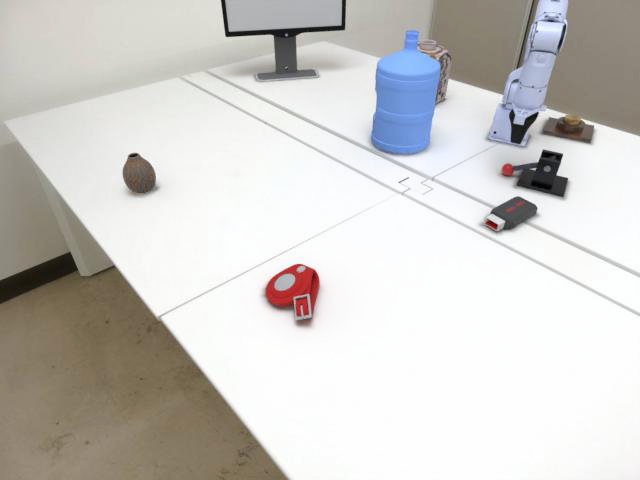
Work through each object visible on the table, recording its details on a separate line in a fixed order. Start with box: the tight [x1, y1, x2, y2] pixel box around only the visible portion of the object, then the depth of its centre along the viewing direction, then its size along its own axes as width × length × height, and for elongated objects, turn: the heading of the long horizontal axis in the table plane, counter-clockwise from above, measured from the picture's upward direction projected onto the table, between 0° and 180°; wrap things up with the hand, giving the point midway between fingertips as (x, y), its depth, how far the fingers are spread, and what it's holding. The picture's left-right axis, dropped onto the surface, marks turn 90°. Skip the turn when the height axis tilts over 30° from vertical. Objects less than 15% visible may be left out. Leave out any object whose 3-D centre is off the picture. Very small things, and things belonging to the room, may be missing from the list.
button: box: [563, 113, 582, 125], centre depth 126 cm, size 4×4×2 cm
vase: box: [122, 152, 157, 195], centre depth 103 cm, size 7×7×9 cm
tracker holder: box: [265, 263, 320, 321], centre depth 77 cm, size 12×4×10 cm
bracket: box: [516, 149, 569, 198], centre depth 104 cm, size 10×8×7 cm
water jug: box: [370, 29, 441, 155], centre depth 115 cm, size 16×16×28 cm
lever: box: [501, 155, 556, 176], centre depth 106 cm, size 12×3×3 cm, turn 61°
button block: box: [542, 116, 595, 144], centre depth 127 cm, size 12×10×3 cm
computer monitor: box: [220, 0, 347, 83], centre depth 153 cm, size 41×8×40 cm, turn 102°
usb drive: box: [483, 195, 538, 232], centre depth 95 cm, size 5×12×3 cm, turn 126°
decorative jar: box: [417, 39, 453, 105], centre depth 141 cm, size 12×12×18 cm
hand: (515, 142), depth 105 cm, fingers closed
